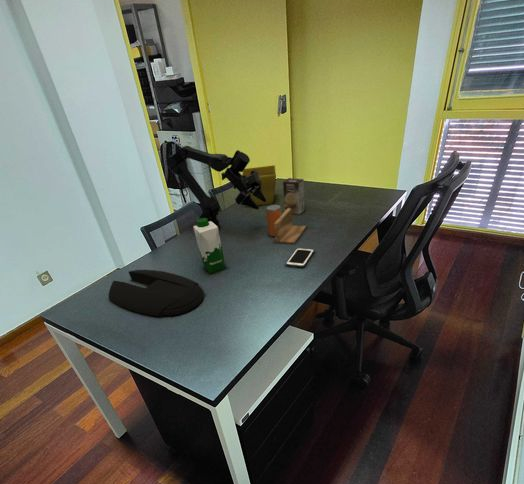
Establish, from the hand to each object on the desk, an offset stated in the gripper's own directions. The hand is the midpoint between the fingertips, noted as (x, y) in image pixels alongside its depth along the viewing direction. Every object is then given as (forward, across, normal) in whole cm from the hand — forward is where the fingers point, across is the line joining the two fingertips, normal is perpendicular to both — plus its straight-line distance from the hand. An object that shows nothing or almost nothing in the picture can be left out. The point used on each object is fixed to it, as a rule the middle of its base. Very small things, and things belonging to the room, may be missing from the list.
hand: (262, 205), depth 152 cm
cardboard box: (-4, +42, +23) cm, 48 cm away
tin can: (+14, 0, +6) cm, 15 cm away
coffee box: (+14, +28, +6) cm, 32 cm away
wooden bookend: (+19, 0, 0) cm, 19 cm away
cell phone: (+27, -22, -8) cm, 36 cm away
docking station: (-5, -60, +24) cm, 65 cm away
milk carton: (+4, -36, +16) cm, 40 cm away
